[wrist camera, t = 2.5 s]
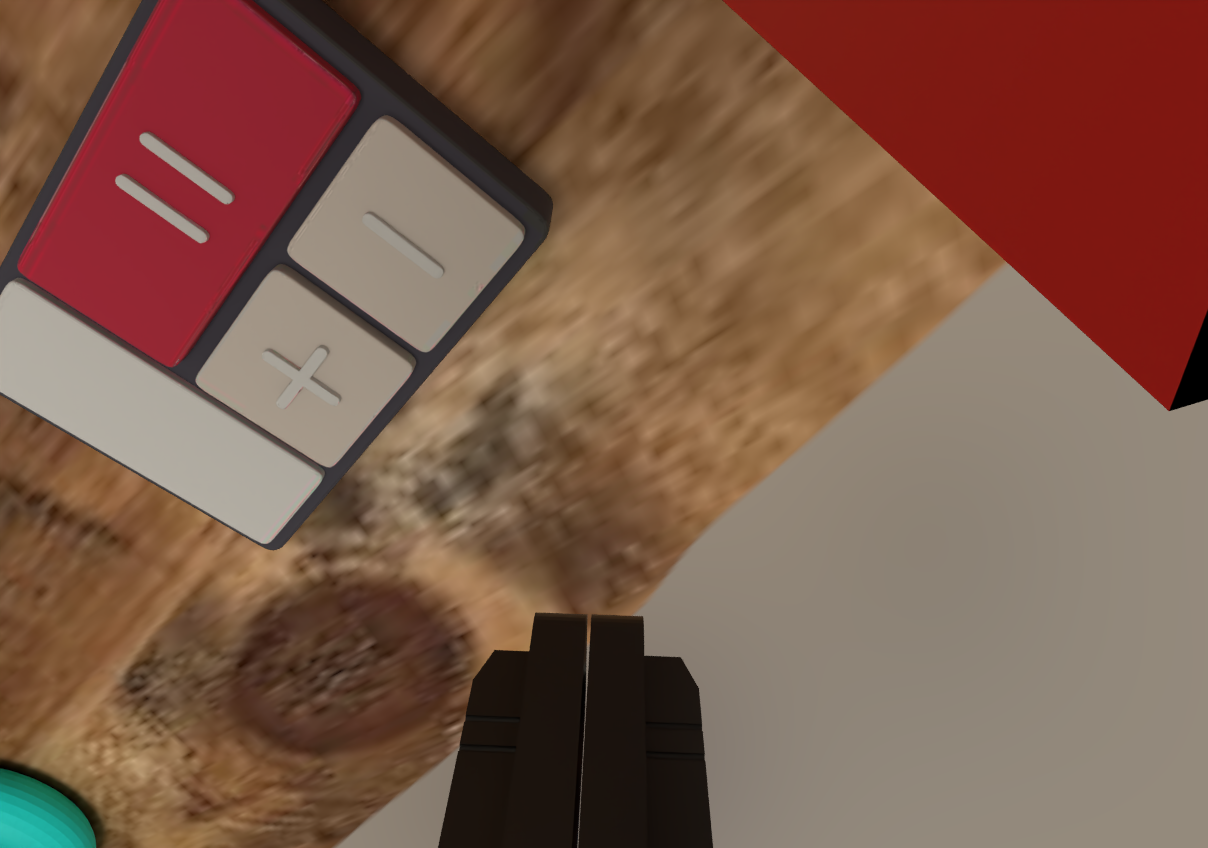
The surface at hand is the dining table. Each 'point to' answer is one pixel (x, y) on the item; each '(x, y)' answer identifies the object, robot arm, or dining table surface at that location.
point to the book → (1044, 146)
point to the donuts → (39, 816)
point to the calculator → (254, 256)
